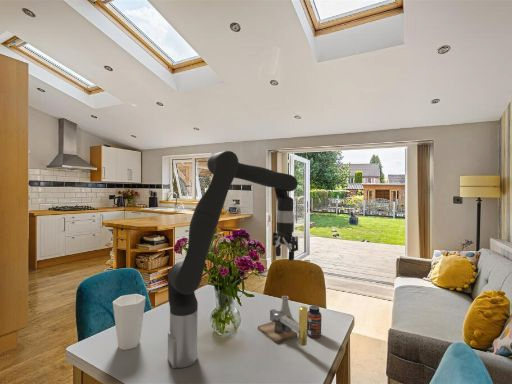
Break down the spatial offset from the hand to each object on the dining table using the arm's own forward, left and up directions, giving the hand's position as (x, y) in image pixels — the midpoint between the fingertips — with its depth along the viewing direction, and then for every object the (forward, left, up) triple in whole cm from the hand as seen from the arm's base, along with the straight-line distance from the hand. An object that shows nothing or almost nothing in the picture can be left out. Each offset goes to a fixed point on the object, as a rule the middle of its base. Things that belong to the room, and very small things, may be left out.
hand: (284, 258), depth 119 cm
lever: (-7, -10, -26) cm, 29 cm away
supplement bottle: (+5, -13, -30) cm, 33 cm away
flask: (+4, +4, -30) cm, 30 cm away
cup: (-59, +20, -29) cm, 69 cm away
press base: (-6, -3, -29) cm, 30 cm away
